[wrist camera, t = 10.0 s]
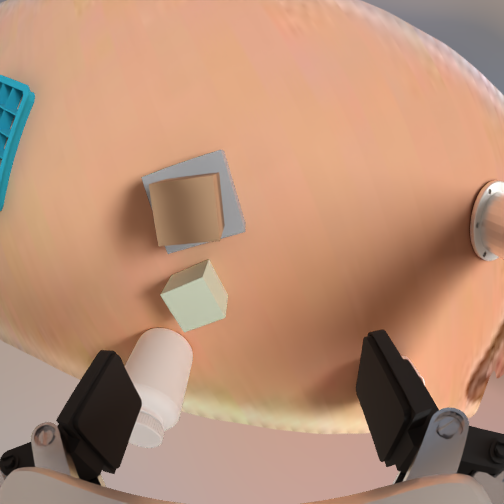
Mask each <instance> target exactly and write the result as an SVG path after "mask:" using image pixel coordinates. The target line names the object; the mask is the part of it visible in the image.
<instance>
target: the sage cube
mask: <svg viewBox="0 0 504 504" xmlns="http://www.w3.org/2000/svg"><path fill="white" fill-rule="evenodd" d="M160 295H161V297H162V299H163V300H164V302H165V303H166V305H167V307H168V308H169V310H170V311H171V313H172V314H173V316H174V318H175V319H176V321H177V322H178V324H179V325H180V327H181V328H182V330H183V331H184V332H187V331H190V330H193V329H195V328H198V327H201V326H204V325H207V324H209V323H212V322H215V321H218V320H220V319H223V318H226V309H227V300H228V294H227V292H226V291H225V289H224V287H223V285H222V283H221V281H220V279H219V277H218V276H217V274H216V272H215V270H214V268H213V266H212V264H211V262H210V260H209V259H208V260H205V261H203V262H201V263H199V264H196V265H194V266H192V267H189V268H187V269H185V270H182V271H180V272H178V273H176V274H173V275H171V277H170V279H169V280H168V282H167V284H166V286H165V287H164V289H163V291H162V293H161V294H160Z"/></svg>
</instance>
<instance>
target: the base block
mask: <svg viewBox="0 0 504 504" xmlns="http://www.w3.org/2000/svg"><path fill="white" fill-rule="evenodd" d="M218 172H219V174H220V185H221V195H222V205H223V214H224V224H225V226H224V229H223V233H222V236H221V239H222V238H225V237H229V236H232V235H236V234H239V233H243V232H245V220H244V216H243V213H242V210H241V206H240V203H239V200H238V196H237V193H236V189H235V186H234V183H233V179H232V176H231V173H230V169H229V166H228V162H227V159H226V156H225V152H224V151H223V150H218V151H215V152H212V153H209V154H206V155H202V156H199V157H196V158H193V159H190V160H187V161H184V162H182V163H179V164H176V165H173V166H170V167H167V168H165V169H162V170H159V171H157V172H154V173H151V174H149V175H146V176H144V177H141V178H142V181H143V184H144V187H145V190H146V193H147V196H148V200H149V203H150V205H151V208H152V204H151V197H150V189H149V184H151V183H155V182H158V181H161V180H165V179H170V178H177V177H184V176H192V175H200V174H209V173H218ZM204 243H207V242H202V243H191V244H180V245H169V246H165V248H166V250H167V253H168V254H170V253H173V252H176V251H180V250H183V249H187V248H190V247H194V246H197V245H200V244H204Z"/></svg>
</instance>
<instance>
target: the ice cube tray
mask: <svg viewBox="0 0 504 504" xmlns="http://www.w3.org/2000/svg"><path fill="white" fill-rule="evenodd" d="M22 95H23V98H22V101H21V103H20V106H19V109H18V110H17V107H18V105H19V102H20V100H21V97H22ZM34 99H35V95H34V93H33V92H31V91H30V89H29V86H28V85H26V84H23V83H21V82H18V81H16V80H13V79H10V78H8V77H5V76H2V75H0V160H1V158H2V162H1V166H0V211H1V210H2V208H3V205H4V200H5V194H6V190H7V185H8V181H9V176H10V172H11V168H12V165H13V161H14V157H15V154H16V151H17V147H18V144H19V141H20V138H21V135H22V132H23V129H24V126H25V124H26V121H27V118H28V116H29V113H30V111H31V108H32V106H33V103H34ZM14 115H15V119H14V122H13V125H12V128H11V129H10V126H11V123H12V121H13V118H14ZM7 137H8V140H7V144H6V147H5V149H4V145H5V142H6V139H7Z"/></svg>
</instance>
